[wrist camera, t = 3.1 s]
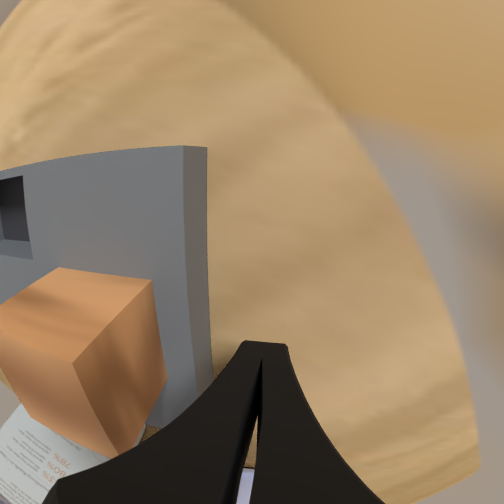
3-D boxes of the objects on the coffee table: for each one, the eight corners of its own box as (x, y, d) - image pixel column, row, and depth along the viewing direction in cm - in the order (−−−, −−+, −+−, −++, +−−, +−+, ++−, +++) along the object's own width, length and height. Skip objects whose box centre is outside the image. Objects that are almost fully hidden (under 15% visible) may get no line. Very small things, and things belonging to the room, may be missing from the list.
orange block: (167, 378, 11) (124, 463, 6) (83, 355, 11) (30, 417, 7) (151, 279, 9) (72, 363, 5) (58, 267, 10) (-21, 319, 5)
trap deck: (215, 404, 14) (204, 438, 12) (-6, 330, 16) (-23, 344, 14) (207, 147, 10) (183, 145, 8) (-39, 183, 12) (-62, 190, 10)
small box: (56, 401, 18) (-14, 497, 5) (55, 362, 16) (-43, 479, 3) (134, 451, 18) (81, 563, 6) (149, 424, 16) (80, 572, 4)
